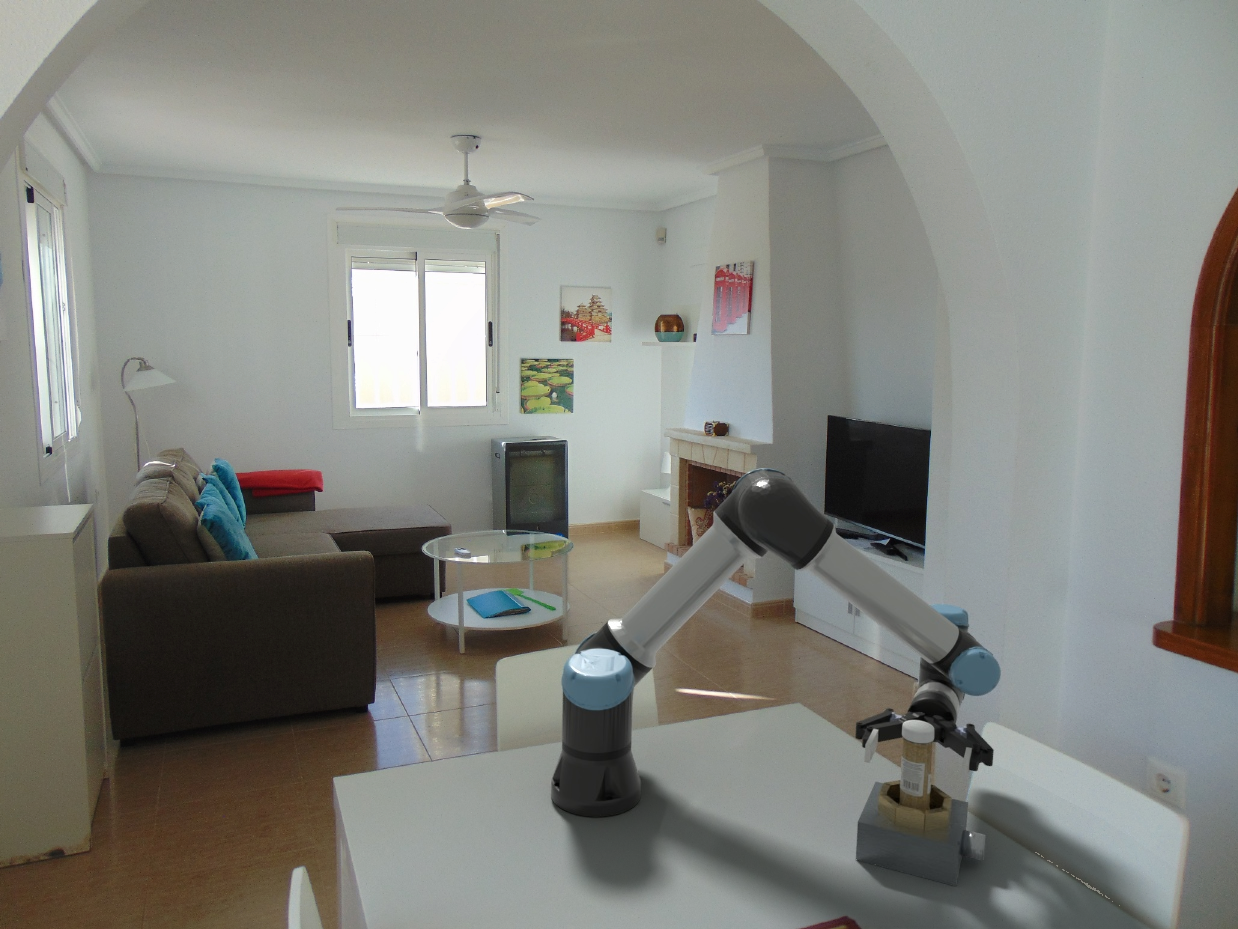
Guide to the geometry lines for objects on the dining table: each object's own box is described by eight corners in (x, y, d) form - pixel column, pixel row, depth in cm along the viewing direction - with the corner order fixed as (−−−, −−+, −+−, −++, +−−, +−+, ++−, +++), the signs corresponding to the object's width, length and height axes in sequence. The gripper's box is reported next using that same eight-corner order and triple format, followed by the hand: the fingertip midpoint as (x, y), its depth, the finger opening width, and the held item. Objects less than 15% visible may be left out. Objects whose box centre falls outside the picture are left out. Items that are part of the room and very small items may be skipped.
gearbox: (855, 859, 131) (858, 805, 130) (873, 816, 144) (876, 766, 143) (978, 892, 124) (983, 835, 123) (986, 843, 136) (990, 791, 135)
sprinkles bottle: (936, 812, 133) (941, 726, 131) (916, 821, 131) (921, 733, 129) (911, 799, 137) (915, 716, 135) (891, 807, 134) (895, 722, 133)
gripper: (1012, 749, 144) (1005, 808, 125) (856, 719, 154) (828, 769, 136) (1016, 705, 143) (1009, 758, 124) (859, 677, 154) (830, 722, 135)
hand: (914, 764), depth 130 cm, fingers open, 13 cm apart
